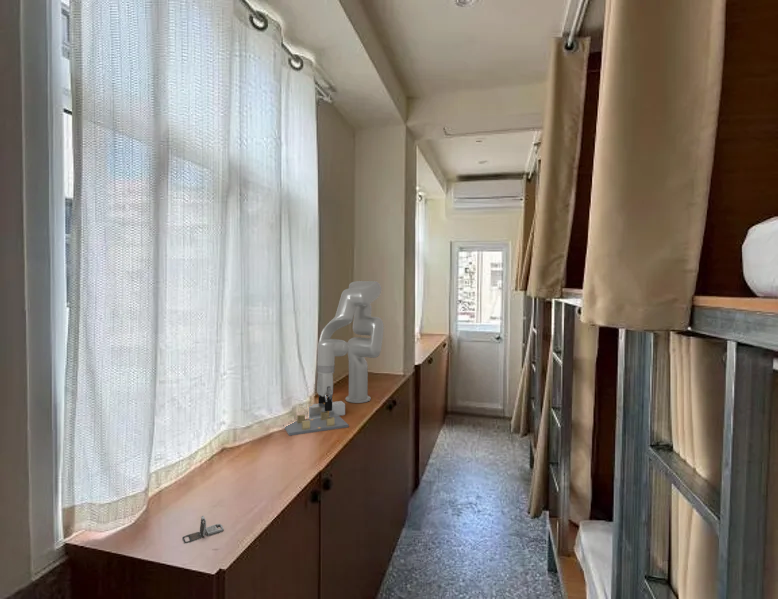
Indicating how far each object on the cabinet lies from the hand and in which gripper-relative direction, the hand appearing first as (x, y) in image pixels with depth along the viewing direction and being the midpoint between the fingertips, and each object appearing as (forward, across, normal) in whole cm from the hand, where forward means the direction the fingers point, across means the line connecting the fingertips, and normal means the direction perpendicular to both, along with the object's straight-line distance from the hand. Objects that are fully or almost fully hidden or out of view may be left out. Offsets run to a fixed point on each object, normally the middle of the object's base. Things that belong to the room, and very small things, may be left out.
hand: (325, 407), depth 184 cm
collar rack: (+4, +12, -7) cm, 14 cm away
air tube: (+4, 0, +1) cm, 4 cm away
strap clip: (+7, +73, -50) cm, 89 cm away
